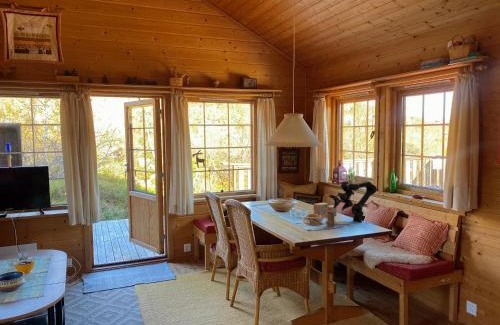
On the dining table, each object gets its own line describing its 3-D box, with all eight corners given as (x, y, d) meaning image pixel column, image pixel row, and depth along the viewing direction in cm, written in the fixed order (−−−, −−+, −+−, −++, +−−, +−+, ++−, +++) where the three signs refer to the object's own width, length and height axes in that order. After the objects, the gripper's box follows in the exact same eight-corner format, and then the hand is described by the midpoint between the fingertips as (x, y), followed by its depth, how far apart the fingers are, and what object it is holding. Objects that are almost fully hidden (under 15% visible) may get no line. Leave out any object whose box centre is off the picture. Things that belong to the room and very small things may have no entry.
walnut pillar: (330, 225, 321) (331, 211, 320) (334, 226, 318) (334, 211, 317) (327, 226, 319) (327, 211, 318) (330, 227, 316) (331, 212, 315)
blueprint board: (346, 222, 334) (346, 219, 334) (349, 225, 323) (349, 222, 323) (325, 221, 334) (325, 219, 333) (328, 225, 323) (328, 222, 322)
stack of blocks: (332, 214, 364) (333, 202, 363) (336, 216, 358) (336, 203, 357) (313, 216, 356) (313, 203, 355) (316, 217, 350) (317, 204, 349)
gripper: (334, 187, 332) (325, 201, 326) (351, 190, 316) (341, 204, 311) (340, 196, 336) (331, 209, 331) (357, 199, 321) (347, 213, 316)
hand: (337, 209), depth 322 cm, fingers open, 9 cm apart
